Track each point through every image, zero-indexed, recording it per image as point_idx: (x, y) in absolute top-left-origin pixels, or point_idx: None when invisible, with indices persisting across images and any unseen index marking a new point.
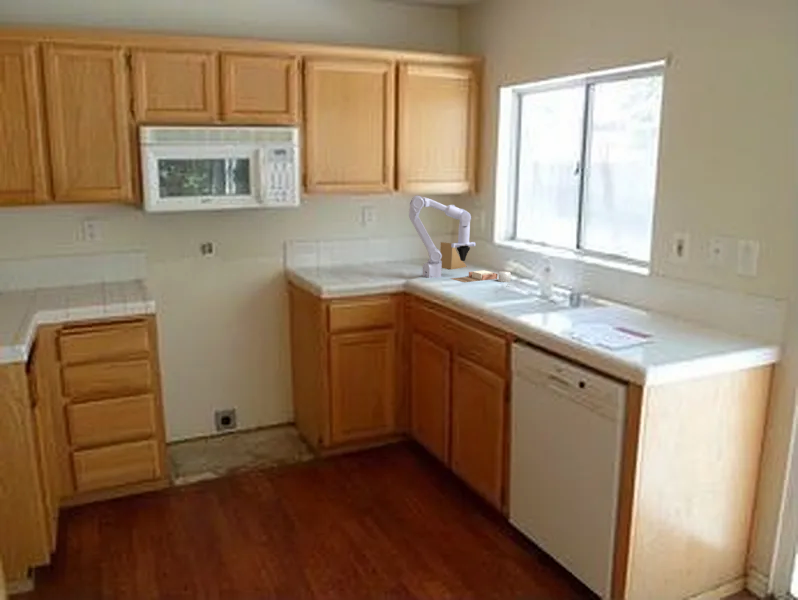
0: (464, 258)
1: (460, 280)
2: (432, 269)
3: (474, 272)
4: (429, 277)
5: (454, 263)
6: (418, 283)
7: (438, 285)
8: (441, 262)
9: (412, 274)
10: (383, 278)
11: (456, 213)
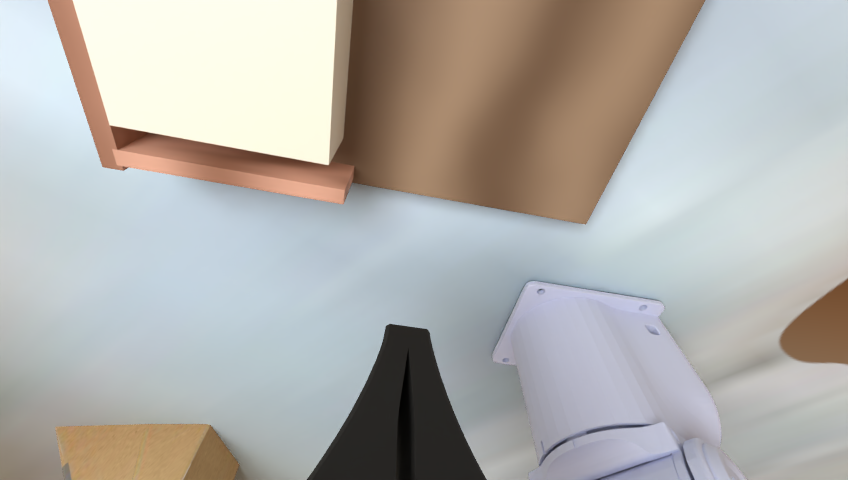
0: (407, 356)
1: (621, 86)
2: (675, 380)
3: (332, 116)
4: (664, 328)
5: (161, 460)
6: (812, 293)
7: (845, 150)
8: (585, 430)
9: (520, 441)
10: (732, 449)
11: None
